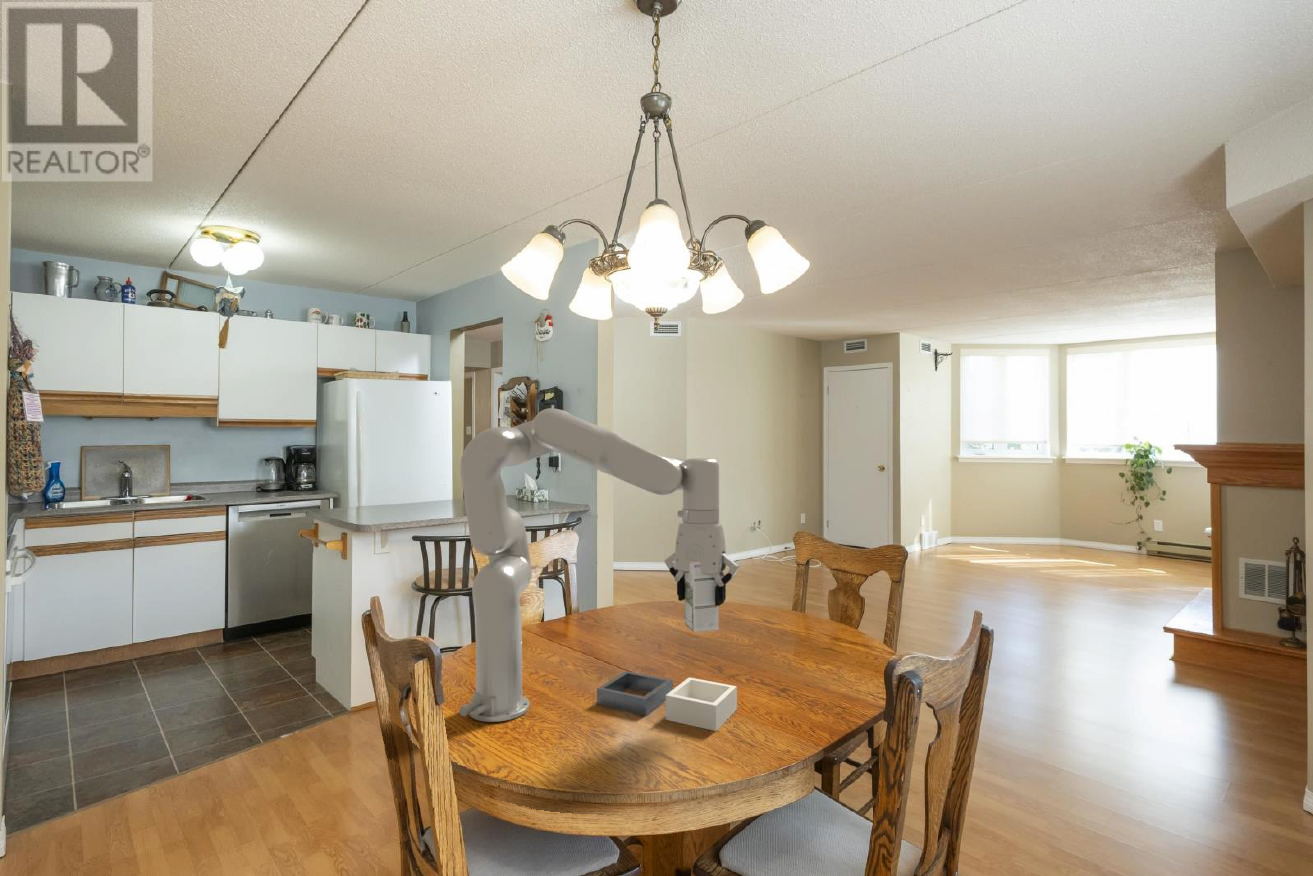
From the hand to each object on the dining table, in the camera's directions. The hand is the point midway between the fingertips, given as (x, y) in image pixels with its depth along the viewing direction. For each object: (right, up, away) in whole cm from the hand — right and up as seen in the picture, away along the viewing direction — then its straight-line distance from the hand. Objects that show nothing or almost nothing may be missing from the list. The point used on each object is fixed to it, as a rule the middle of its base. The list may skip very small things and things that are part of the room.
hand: (701, 601), depth 134 cm
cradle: (0, -24, 0) cm, 24 cm away
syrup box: (0, -6, 0) cm, 6 cm away
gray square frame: (-14, -24, +8) cm, 28 cm away
